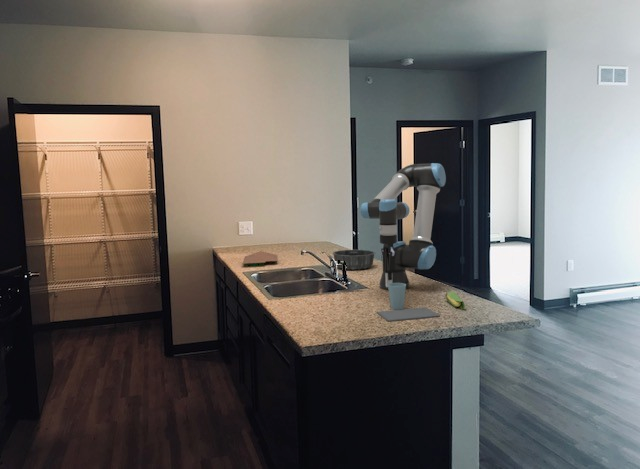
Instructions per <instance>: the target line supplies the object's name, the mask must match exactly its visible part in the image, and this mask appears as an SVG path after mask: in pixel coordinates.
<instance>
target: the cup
mask: <svg viewBox="0 0 640 469" xmlns="http://www.w3.org/2000/svg"><path fill="white" fill-rule="evenodd" d="M388 289H389V290H388V296H389V297H388V298H389V305H390V309H391V310H402V309H405V299H406V290H407V289H406V284H404V283H390V284H388Z"/></svg>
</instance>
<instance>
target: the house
mask: <svg viewBox="0 0 640 469" xmlns="http://www.w3.org/2000/svg"><path fill="white" fill-rule="evenodd" d="M278 256H279V255H278V254H274V253H271V252H266V251H257V252H254V253H251V254H249V255H245V256H244V258H243V261H242V264H243V266H244V265H245V266H246V267H247V264H251V265H254V267H255V266H256V267H257V265H258V264H259V265H258V267H259V266H260V267H261V264H262V266H265V265H264V263H265V264H266V263H267V262H275V263H278V261H279V257H278Z"/></svg>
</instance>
